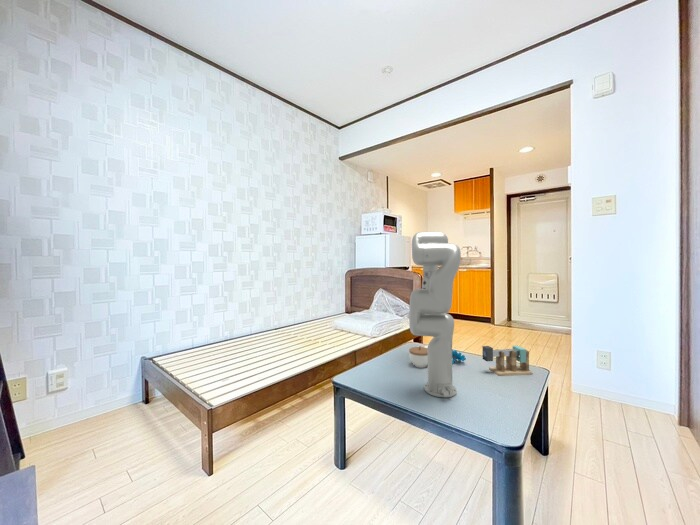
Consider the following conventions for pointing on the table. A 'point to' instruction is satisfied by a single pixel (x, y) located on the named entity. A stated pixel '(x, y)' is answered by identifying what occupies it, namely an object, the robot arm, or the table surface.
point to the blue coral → (457, 356)
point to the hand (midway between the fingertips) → (430, 307)
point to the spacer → (521, 354)
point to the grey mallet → (496, 353)
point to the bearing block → (511, 365)
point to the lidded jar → (419, 356)
